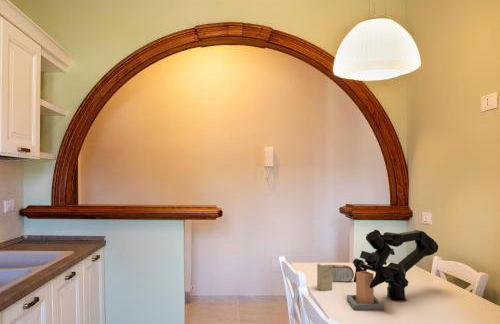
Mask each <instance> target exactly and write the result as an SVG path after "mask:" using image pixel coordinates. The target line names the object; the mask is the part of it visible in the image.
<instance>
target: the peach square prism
mask: <svg viewBox="0 0 500 324" xmlns="http://www.w3.org/2000/svg"><path fill="white" fill-rule="evenodd" d="M373 279H374V273H372V272H369V271H361V272H356V282H355V290H356V291H355V293H356V294H355V295H356V303H358V304H374V296H375V292H374V289H375V287H373V288H370V287H369V286H370V284H371V282H372V281H373Z"/></svg>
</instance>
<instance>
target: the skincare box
mask: <svg viewBox="0 0 500 324" xmlns="http://www.w3.org/2000/svg"><path fill="white" fill-rule="evenodd" d="M332 265H333V264H332V263H330V262H321V263H320V262H319V263H317V265H316V266H317V267H316V273H317V274H316V277H317V279H316V284H317V285H316V286H317V289H318V290H319V291H332V290H333V282H332Z"/></svg>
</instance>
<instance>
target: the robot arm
mask: <svg viewBox="0 0 500 324" xmlns="http://www.w3.org/2000/svg"><path fill="white" fill-rule="evenodd" d="M365 240H366V241H367V243H368V244H369V245H370V246H371V247H372V249H374V251H372V252H368V251H365V250H361V252H360V255H359V258H354V259H353V260H352V265H353V266H354V267H355V273H354V277H353V283H356V272H361V271H366V272H368V271H372V272H374V273H375V276H373V281H372V282H371V284H370V286H369V287H370V288H373V287H374V288H375V287H377V286H378V285H379V286H380V285H381V284H382V283H386V284H387V287H386V297H388V298H389V300H391V301H404V302H405V301H407V299H406V295H405V294H406V290H405V289H406V287H408V285H409V281H408V279H407V278H406V276H407V272H408V271H410V269H412V268H413V267H414V266H415V265H417V263H419V262H420V261H421V260H422V259H424V258H425V257H429V256H432V255H435V254H436V253H437V252H438V250H439V245H438V243H437V241H435V240H434V239H433V238H432V237H431V236H429V235H428V234H427V233H426V231H423V230H417V229H415V230H413V231H406V232H404V231H403V232H397V233H396V232H389V231H386V232H383V234H382V233H381V231H379V230H378V229H374V230H373V231H370V232H368V233H367V234H366V236H365ZM413 241H414V243H415V245H416V246H415V249H413V250H412V251H411V252H410V253H408V254H407V255H405V257H403V259H402V260H401V261H399V262H398V263H396V262H392V261H391V262H390V263H389V264H388V262H387V260H388V259H389V257H390V255H392V256H395V255H396V254H395V251H394V250H395V249H394V248H392V247H395V248H398V247H400V246H402V245H403V244H404V243H407V242H408V243H409V242H413ZM362 259H363V260H362ZM387 264H388V265H387Z"/></svg>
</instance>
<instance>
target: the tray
mask: <svg viewBox="0 0 500 324" xmlns="http://www.w3.org/2000/svg"><path fill="white" fill-rule="evenodd" d="M346 301H347V302H348V303H350V304H349V305H350V306H351V308H352V307H353V308H352V309H353V310H354V311H371V312H373V311H374V312H375V311H376V312H377V311H378V312H379V311H380V312H381V311H383V312H384V310H385V305H384V303H382V302H381V301H380V300H379V298H377V297H376V296H375V295H374V304H358V303H356V294H347V295H346Z"/></svg>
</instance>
